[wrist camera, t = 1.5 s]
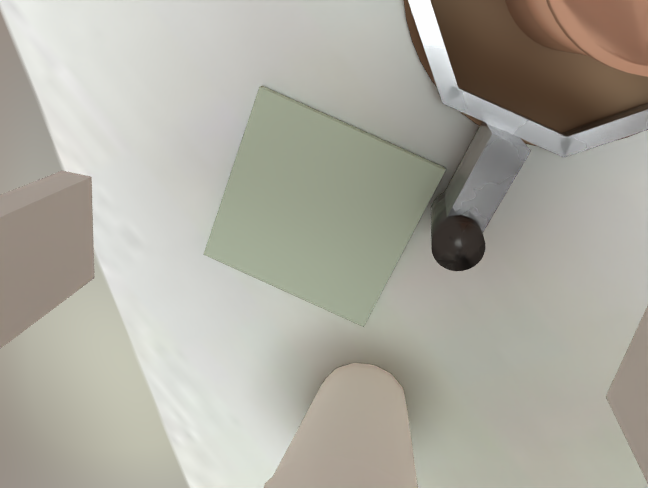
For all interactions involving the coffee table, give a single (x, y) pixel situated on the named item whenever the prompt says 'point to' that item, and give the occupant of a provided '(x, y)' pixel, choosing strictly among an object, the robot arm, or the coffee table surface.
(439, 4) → the base plate
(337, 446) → the foam cup
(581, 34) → the terracotta mug
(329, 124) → the mat
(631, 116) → the collar
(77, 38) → the coffee table surface
